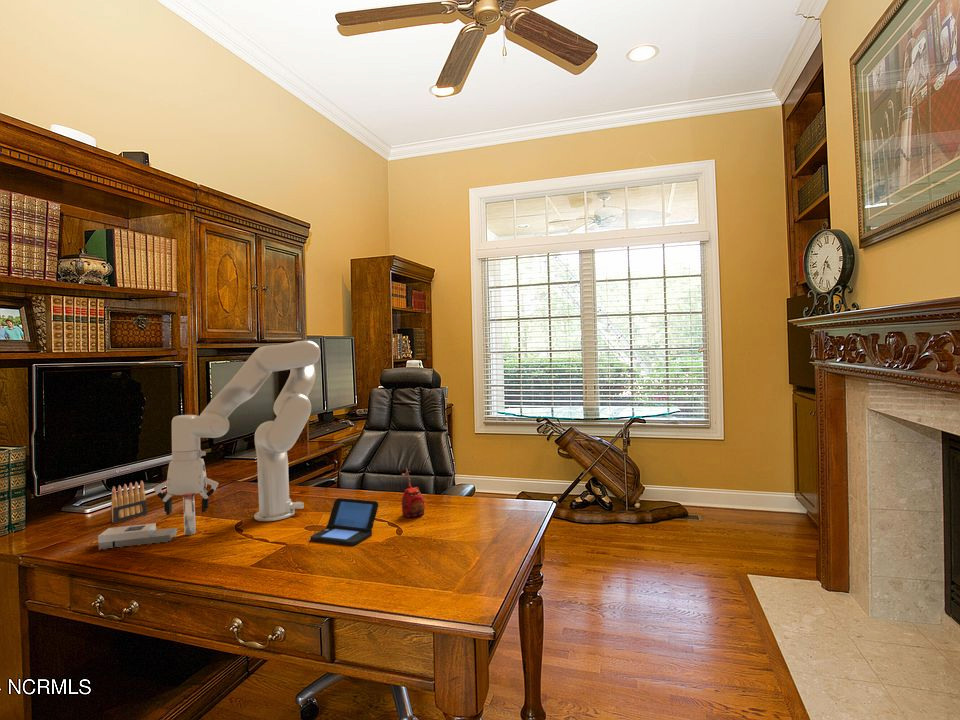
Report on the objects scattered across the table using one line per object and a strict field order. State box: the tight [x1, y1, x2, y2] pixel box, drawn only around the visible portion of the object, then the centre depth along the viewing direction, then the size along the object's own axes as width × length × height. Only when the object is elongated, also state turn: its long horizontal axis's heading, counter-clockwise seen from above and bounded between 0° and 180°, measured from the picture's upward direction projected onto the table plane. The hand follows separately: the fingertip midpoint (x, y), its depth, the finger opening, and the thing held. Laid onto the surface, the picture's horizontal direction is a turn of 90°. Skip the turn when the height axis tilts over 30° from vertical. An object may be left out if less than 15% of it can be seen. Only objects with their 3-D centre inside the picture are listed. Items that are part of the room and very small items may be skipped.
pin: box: [180, 494, 197, 536], centre depth 159 cm, size 4×4×13 cm
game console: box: [310, 497, 379, 547], centre depth 153 cm, size 16×14×9 cm
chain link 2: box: [114, 527, 178, 548], centre depth 154 cm, size 14×7×2 cm, turn 105°
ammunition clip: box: [110, 480, 148, 524], centre depth 177 cm, size 11×2×12 cm, turn 151°
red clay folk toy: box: [401, 467, 426, 519], centre depth 171 cm, size 8×7×15 cm
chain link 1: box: [97, 522, 157, 551], centre depth 153 cm, size 12×7×4 cm, turn 105°
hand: (187, 512), depth 158 cm, fingers open, 9 cm apart
